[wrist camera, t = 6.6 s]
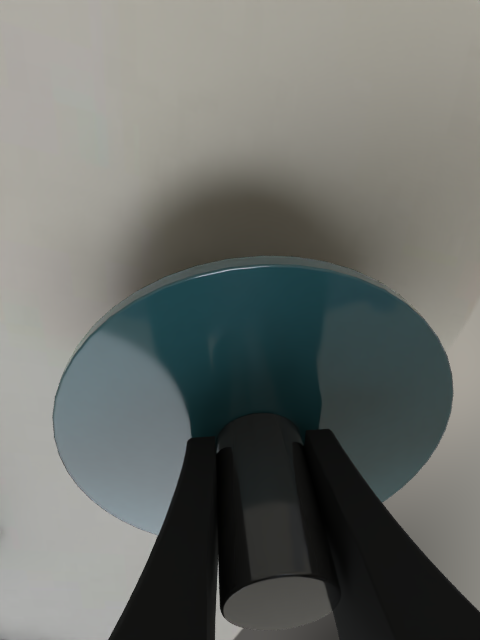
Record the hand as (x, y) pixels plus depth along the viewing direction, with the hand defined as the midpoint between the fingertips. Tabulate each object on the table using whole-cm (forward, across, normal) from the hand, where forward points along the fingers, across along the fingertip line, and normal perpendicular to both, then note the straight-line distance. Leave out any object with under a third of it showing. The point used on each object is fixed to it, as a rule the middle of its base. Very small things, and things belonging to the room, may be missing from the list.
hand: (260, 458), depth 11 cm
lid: (+1, 0, 0) cm, 1 cm away
